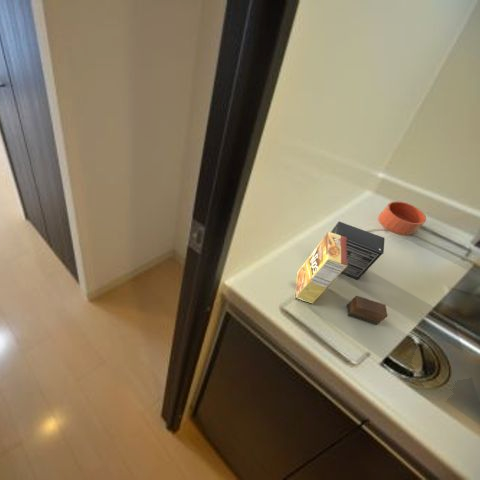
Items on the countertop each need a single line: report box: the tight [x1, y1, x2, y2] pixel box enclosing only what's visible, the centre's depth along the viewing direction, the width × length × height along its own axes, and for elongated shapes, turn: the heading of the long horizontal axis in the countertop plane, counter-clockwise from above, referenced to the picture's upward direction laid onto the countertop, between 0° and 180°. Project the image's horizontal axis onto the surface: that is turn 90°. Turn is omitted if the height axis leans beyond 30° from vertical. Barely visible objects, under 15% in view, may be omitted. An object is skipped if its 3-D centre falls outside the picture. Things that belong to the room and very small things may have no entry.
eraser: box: [346, 295, 389, 326], centre depth 73 cm, size 6×3×4 cm, turn 68°
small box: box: [330, 221, 386, 280], centre depth 81 cm, size 11×6×10 cm, turn 58°
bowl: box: [377, 200, 427, 236], centre depth 94 cm, size 10×10×4 cm
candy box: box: [295, 231, 348, 304], centre depth 74 cm, size 9×4×15 cm, turn 156°
